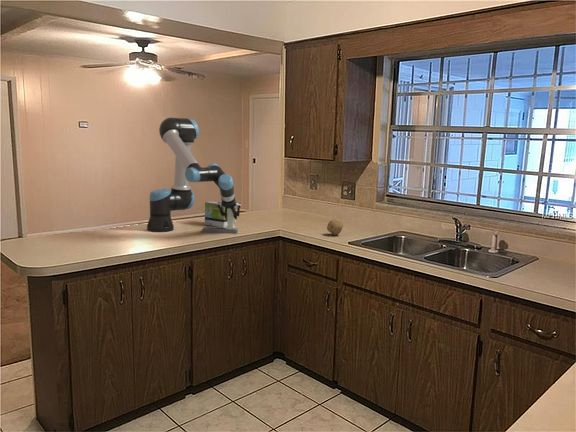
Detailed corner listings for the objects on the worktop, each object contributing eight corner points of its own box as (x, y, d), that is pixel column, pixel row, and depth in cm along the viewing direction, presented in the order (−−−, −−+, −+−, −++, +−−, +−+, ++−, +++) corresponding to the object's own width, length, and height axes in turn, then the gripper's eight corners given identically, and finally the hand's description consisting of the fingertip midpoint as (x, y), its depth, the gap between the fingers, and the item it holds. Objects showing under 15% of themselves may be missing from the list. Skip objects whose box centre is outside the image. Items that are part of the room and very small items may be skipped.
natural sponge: (329, 237, 271) (330, 220, 269) (324, 234, 279) (325, 217, 278) (344, 236, 273) (345, 220, 272) (338, 233, 282) (339, 217, 280)
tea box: (204, 225, 293) (204, 201, 290) (213, 223, 302) (214, 200, 299) (223, 228, 286) (224, 204, 284) (233, 225, 295) (233, 202, 292)
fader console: (202, 232, 271) (202, 228, 271) (204, 230, 277) (204, 226, 277) (236, 233, 271) (236, 230, 271) (237, 231, 277) (237, 228, 276)
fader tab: (225, 228, 272) (226, 206, 269) (226, 227, 276) (227, 205, 273) (234, 229, 272) (234, 207, 269) (235, 228, 275) (235, 206, 273)
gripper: (212, 201, 255) (217, 226, 274) (242, 202, 255) (244, 227, 274) (214, 191, 260) (218, 216, 279) (243, 192, 260) (245, 217, 279)
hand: (231, 221), depth 276 cm, fingers closed on fader tab, 3 cm apart
